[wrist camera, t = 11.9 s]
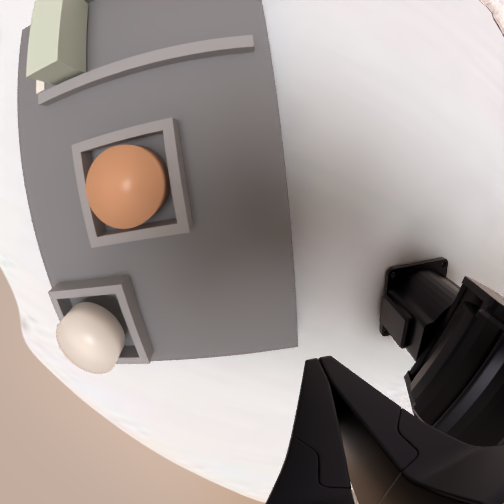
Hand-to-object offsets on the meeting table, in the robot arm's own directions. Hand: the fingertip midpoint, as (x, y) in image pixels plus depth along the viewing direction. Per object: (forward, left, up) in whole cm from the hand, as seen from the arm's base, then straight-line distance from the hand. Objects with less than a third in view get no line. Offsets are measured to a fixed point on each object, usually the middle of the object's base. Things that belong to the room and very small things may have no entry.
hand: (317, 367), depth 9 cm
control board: (+8, -7, -12) cm, 16 cm away
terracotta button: (+8, -6, -10) cm, 14 cm away
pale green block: (+12, -17, -10) cm, 23 cm away
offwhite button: (+13, +3, -8) cm, 16 cm away
